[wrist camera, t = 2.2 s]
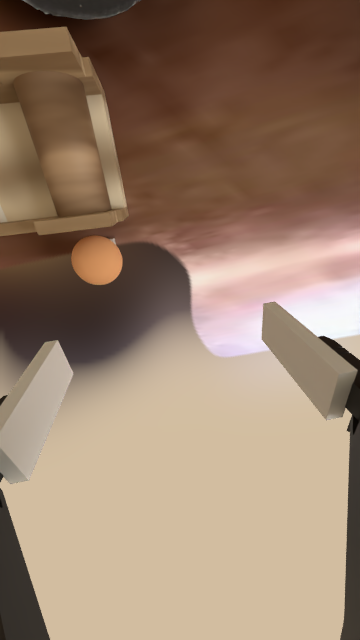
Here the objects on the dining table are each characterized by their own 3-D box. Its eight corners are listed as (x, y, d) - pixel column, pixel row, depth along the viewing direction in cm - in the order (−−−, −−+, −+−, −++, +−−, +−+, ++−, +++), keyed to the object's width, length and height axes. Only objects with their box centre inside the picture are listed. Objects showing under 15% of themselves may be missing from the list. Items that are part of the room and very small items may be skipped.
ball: (72, 235, 25) (56, 243, 20) (118, 229, 25) (112, 236, 21) (86, 279, 27) (74, 295, 23) (128, 273, 27) (124, 288, 23)
